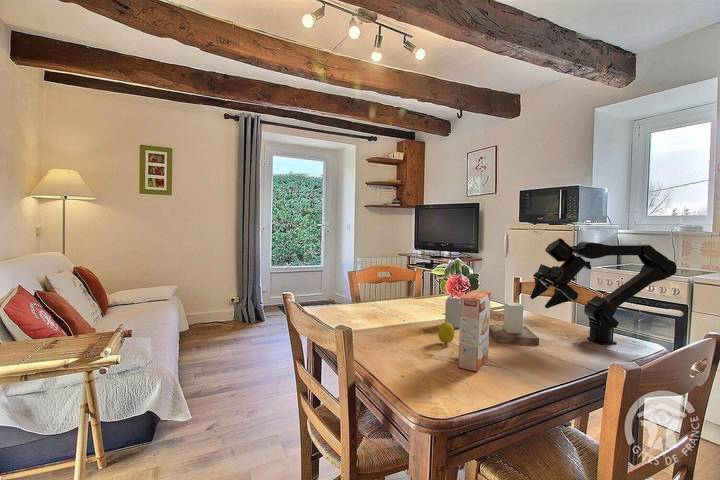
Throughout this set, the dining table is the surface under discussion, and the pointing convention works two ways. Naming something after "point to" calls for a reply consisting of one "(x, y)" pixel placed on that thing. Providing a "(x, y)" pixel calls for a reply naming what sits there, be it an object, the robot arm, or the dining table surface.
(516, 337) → the brown flat square slab
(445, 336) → the lemon
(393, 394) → the dining table surface
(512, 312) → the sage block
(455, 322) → the can
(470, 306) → the cracker box
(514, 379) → the dining table surface
